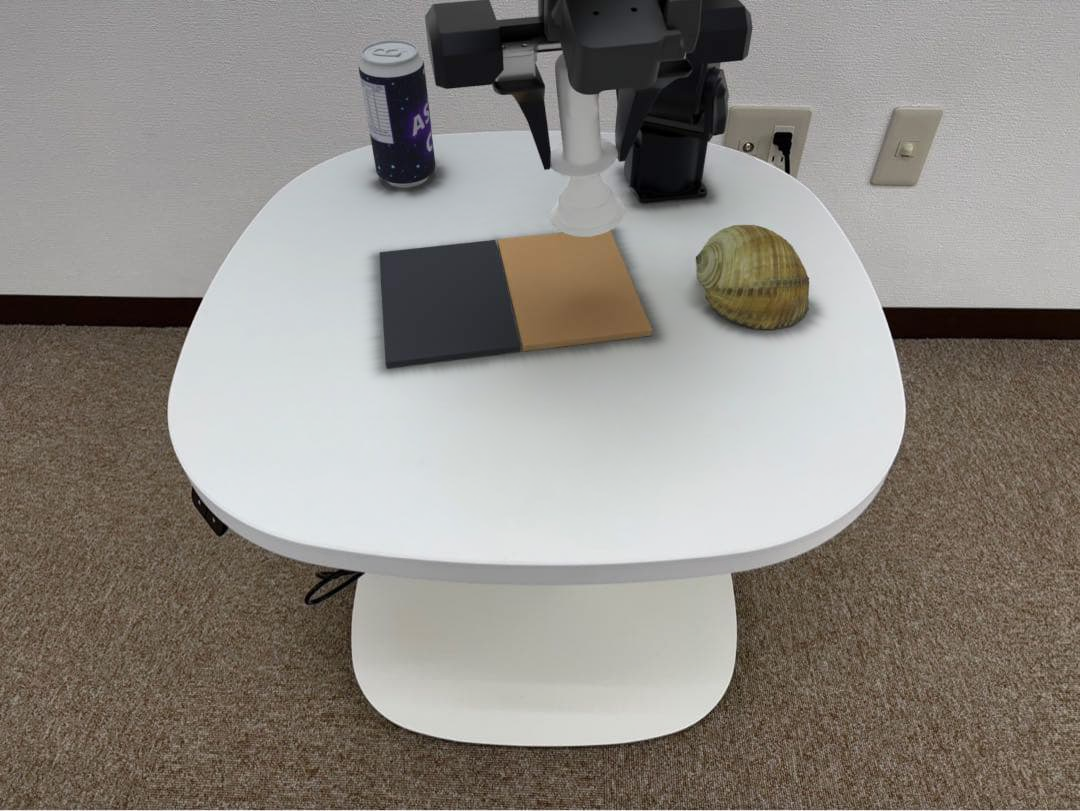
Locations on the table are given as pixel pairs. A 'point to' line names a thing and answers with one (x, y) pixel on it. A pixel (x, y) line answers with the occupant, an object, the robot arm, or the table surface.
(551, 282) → the sorting mat
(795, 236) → the table surface
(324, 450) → the table surface
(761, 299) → the seashell
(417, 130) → the beverage can
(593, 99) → the candle
